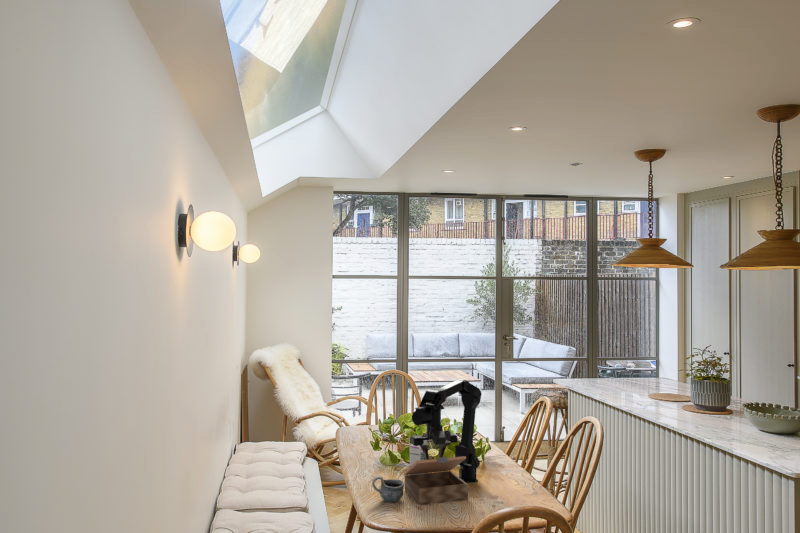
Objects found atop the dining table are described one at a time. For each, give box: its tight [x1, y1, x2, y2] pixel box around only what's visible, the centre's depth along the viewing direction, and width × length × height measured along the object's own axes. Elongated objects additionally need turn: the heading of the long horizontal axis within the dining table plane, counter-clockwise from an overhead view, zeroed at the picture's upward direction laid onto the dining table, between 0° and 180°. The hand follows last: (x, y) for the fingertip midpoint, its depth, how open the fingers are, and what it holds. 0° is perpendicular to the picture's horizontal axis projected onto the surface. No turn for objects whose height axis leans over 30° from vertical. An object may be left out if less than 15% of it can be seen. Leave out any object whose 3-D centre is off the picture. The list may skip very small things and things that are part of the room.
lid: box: [403, 456, 466, 476], centre depth 245 cm, size 20×19×2 cm
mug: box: [371, 475, 405, 503], centre depth 237 cm, size 10×12×10 cm
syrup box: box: [408, 443, 426, 475], centre depth 266 cm, size 6×6×14 cm
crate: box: [404, 470, 469, 506], centre depth 244 cm, size 20×18×6 cm
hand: (433, 460), depth 246 cm, fingers open, 5 cm apart
